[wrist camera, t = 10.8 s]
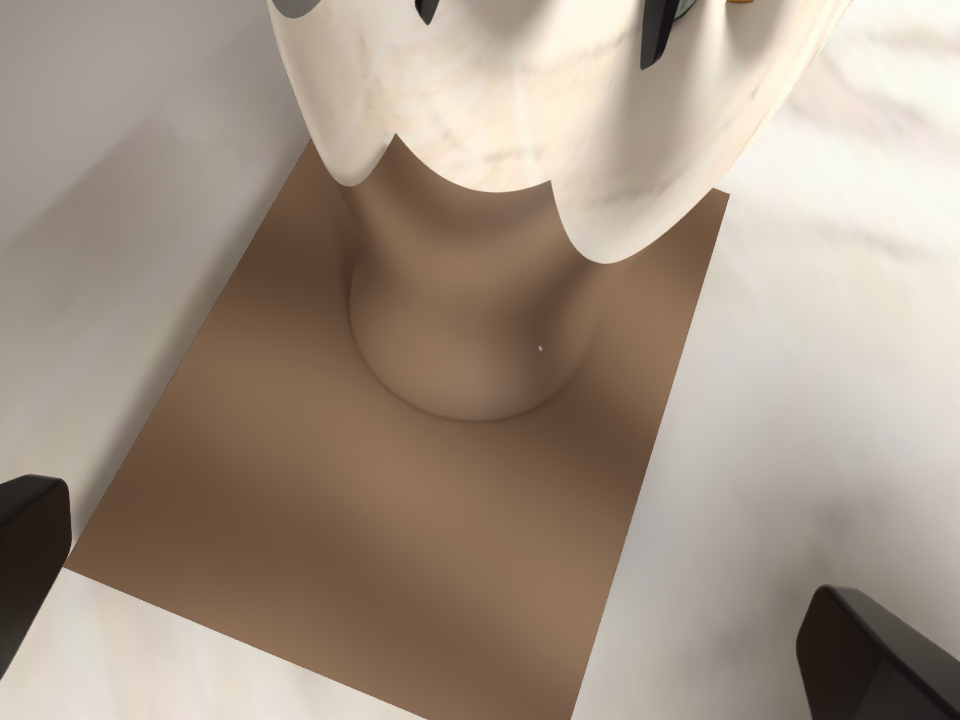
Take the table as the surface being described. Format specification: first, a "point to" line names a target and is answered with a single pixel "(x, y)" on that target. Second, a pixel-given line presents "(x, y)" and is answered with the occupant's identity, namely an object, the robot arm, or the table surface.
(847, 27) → the table surface
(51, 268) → the table surface
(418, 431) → the walnut board
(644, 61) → the silver metal tumbler
